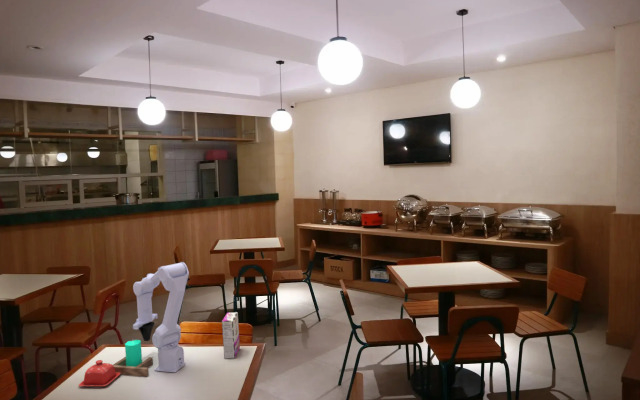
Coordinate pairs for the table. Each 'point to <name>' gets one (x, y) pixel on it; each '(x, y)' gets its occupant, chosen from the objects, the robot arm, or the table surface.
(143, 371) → the brown wooden angled piece
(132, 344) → the candle
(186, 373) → the table surface
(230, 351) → the candy bar box
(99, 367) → the butter dish
